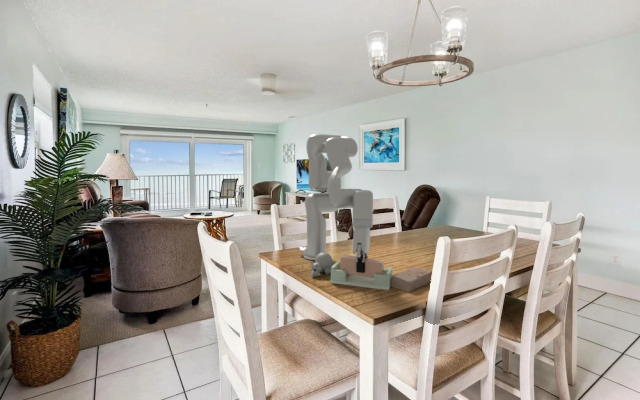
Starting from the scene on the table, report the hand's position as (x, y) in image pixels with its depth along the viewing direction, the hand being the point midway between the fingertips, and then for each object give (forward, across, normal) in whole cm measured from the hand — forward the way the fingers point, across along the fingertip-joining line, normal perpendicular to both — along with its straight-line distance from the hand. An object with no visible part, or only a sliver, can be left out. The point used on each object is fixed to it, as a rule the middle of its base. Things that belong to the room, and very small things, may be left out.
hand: (362, 270), depth 125 cm
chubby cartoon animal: (+5, -5, -18) cm, 20 cm away
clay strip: (+2, 0, 0) cm, 2 cm away
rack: (+5, 0, 0) cm, 5 cm away
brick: (+6, -5, +18) cm, 19 cm away
